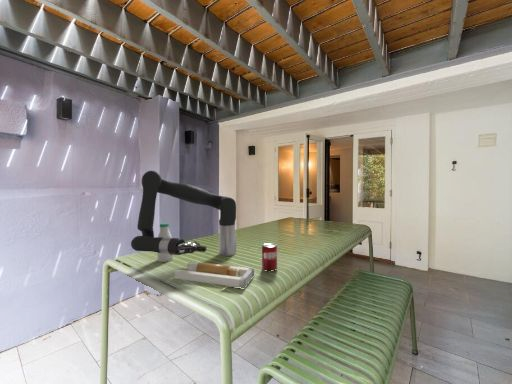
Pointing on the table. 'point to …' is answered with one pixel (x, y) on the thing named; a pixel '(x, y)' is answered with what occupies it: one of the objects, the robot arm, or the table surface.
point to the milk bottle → (164, 234)
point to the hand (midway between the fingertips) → (205, 249)
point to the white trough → (215, 276)
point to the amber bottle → (217, 269)
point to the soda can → (269, 256)
